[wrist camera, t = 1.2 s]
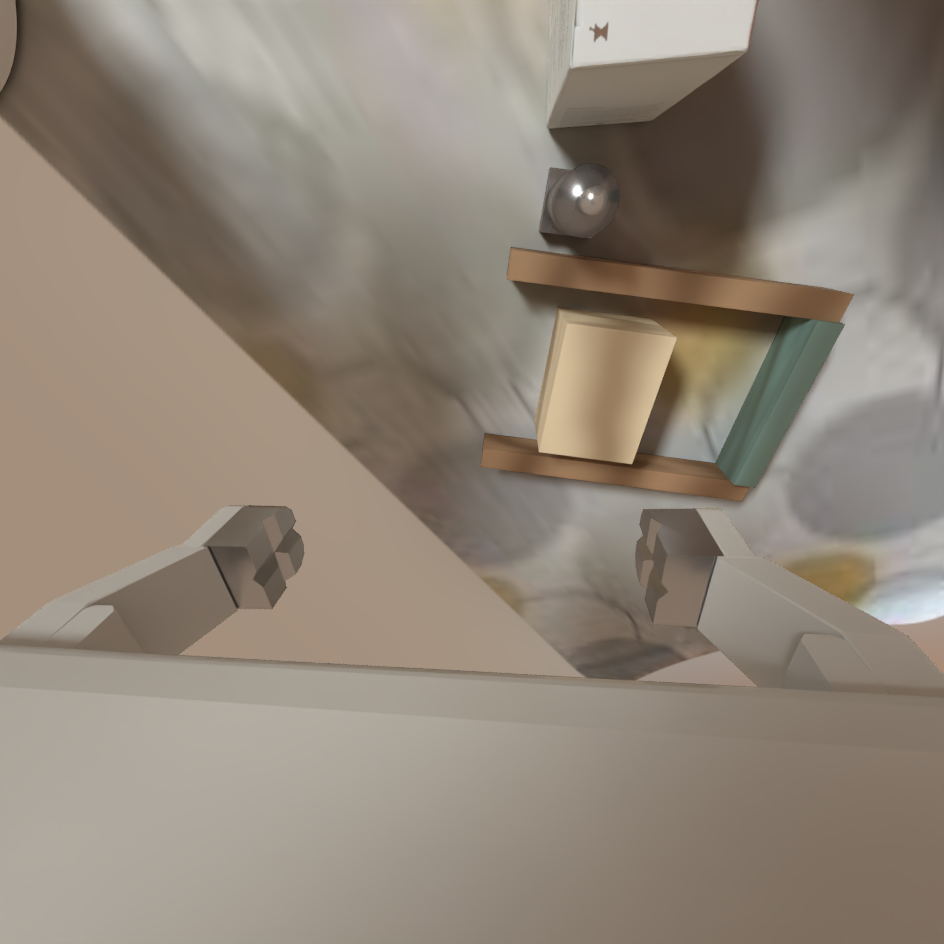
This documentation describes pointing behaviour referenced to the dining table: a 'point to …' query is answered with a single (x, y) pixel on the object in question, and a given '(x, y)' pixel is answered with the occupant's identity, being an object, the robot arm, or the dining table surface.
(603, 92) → the small box
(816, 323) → the bay
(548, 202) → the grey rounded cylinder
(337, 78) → the dining table surface
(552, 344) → the tan tapered block
